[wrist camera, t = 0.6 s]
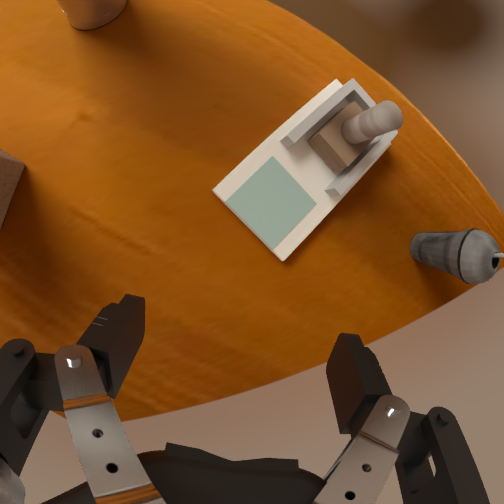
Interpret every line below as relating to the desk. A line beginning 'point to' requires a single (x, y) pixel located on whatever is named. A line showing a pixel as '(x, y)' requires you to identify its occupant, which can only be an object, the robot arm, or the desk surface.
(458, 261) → the beverage cup
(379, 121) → the peg with base
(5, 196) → the wooden block
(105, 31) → the desk surface
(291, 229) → the docking tray
